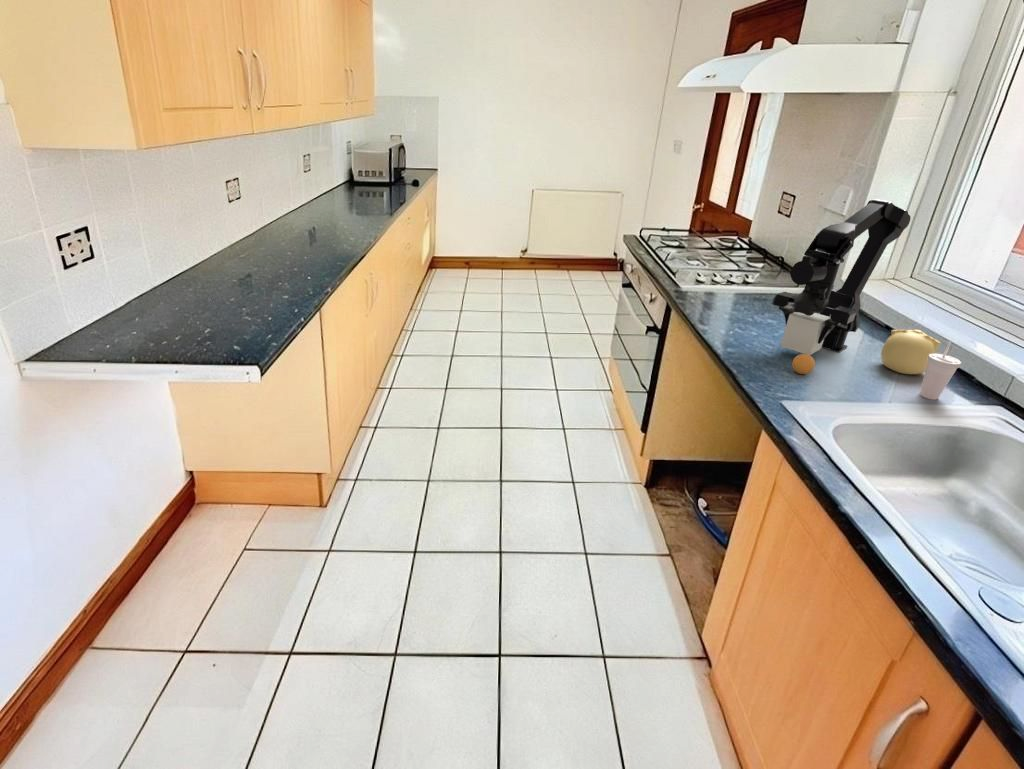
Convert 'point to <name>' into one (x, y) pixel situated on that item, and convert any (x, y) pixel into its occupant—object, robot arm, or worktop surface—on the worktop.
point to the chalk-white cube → (804, 332)
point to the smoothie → (938, 373)
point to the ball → (803, 364)
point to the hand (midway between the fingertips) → (803, 338)
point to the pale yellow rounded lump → (908, 351)
